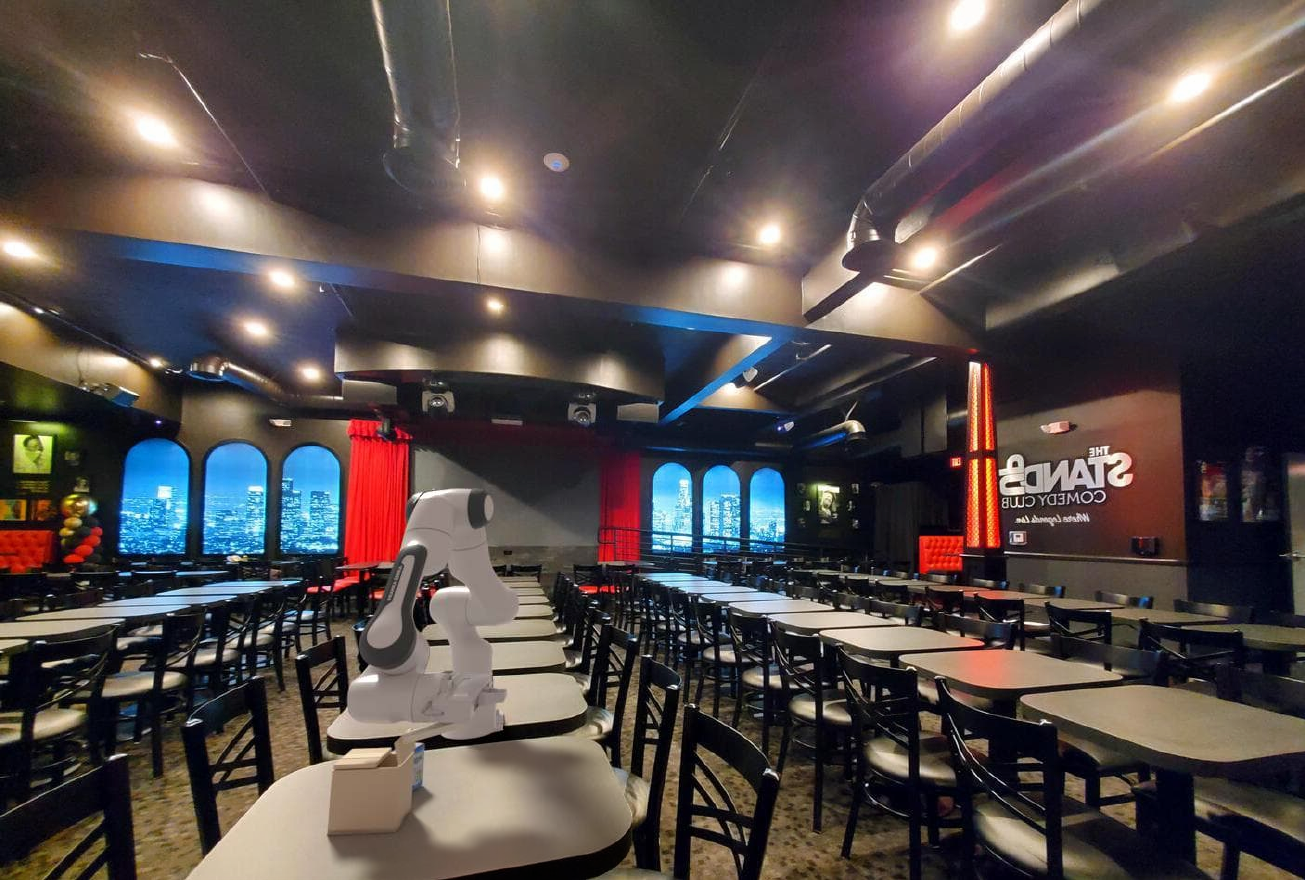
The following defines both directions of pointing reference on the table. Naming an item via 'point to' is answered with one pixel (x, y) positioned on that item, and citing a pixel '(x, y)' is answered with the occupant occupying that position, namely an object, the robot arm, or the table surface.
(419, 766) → the medicine box
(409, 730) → the flap
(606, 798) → the table surface
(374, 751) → the carton
